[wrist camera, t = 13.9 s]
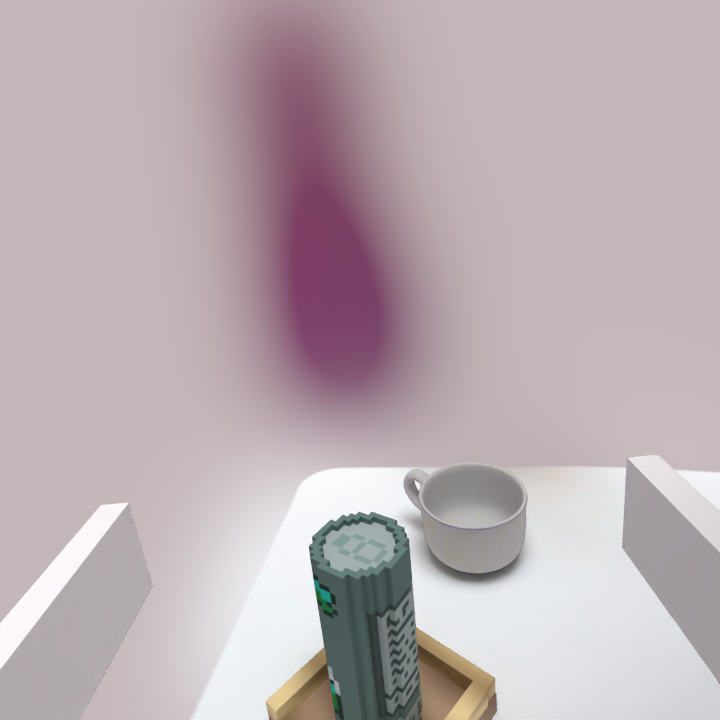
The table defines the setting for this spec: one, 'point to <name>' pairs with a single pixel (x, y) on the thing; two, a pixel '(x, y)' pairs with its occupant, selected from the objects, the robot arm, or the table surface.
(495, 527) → the teacup
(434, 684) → the tray
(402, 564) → the can
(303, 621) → the table surface
